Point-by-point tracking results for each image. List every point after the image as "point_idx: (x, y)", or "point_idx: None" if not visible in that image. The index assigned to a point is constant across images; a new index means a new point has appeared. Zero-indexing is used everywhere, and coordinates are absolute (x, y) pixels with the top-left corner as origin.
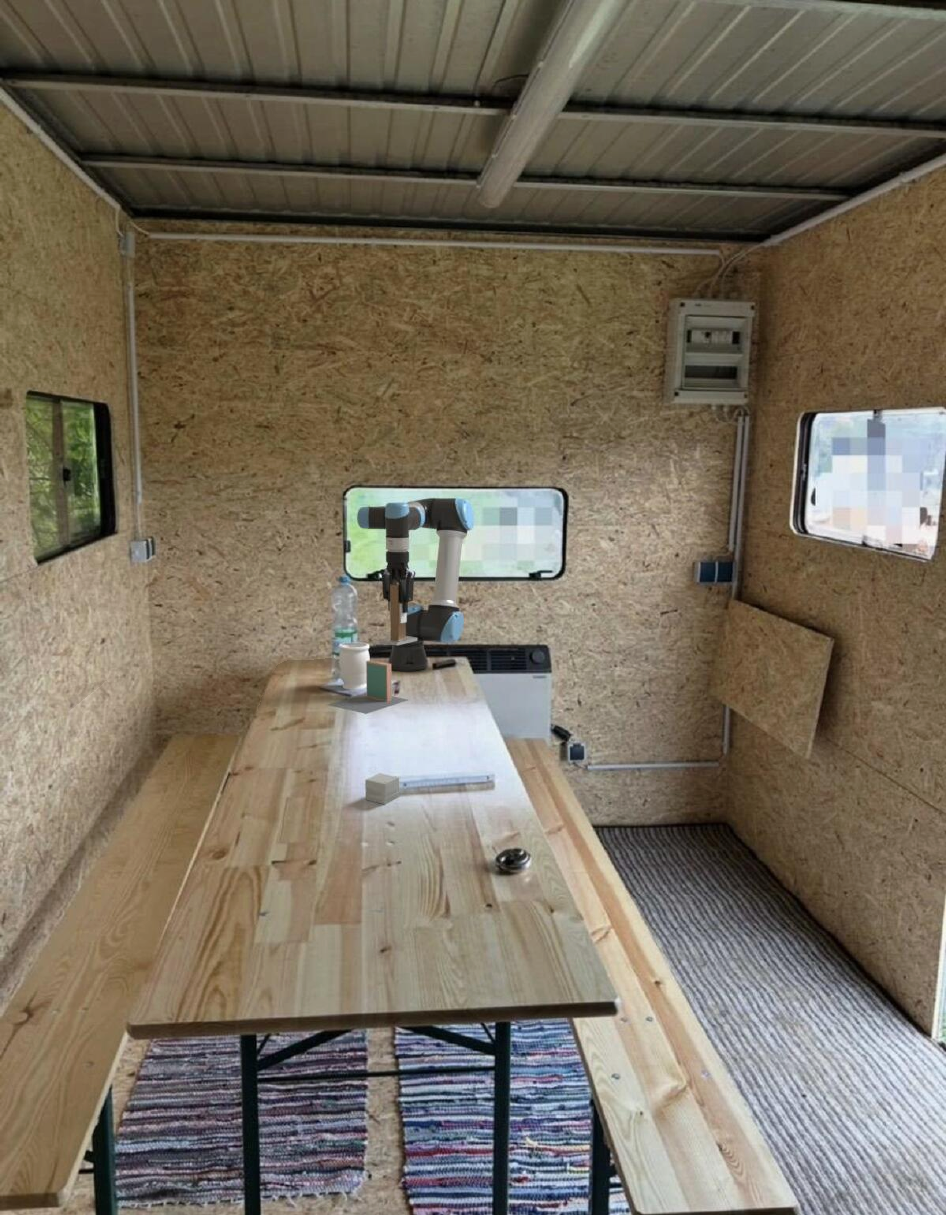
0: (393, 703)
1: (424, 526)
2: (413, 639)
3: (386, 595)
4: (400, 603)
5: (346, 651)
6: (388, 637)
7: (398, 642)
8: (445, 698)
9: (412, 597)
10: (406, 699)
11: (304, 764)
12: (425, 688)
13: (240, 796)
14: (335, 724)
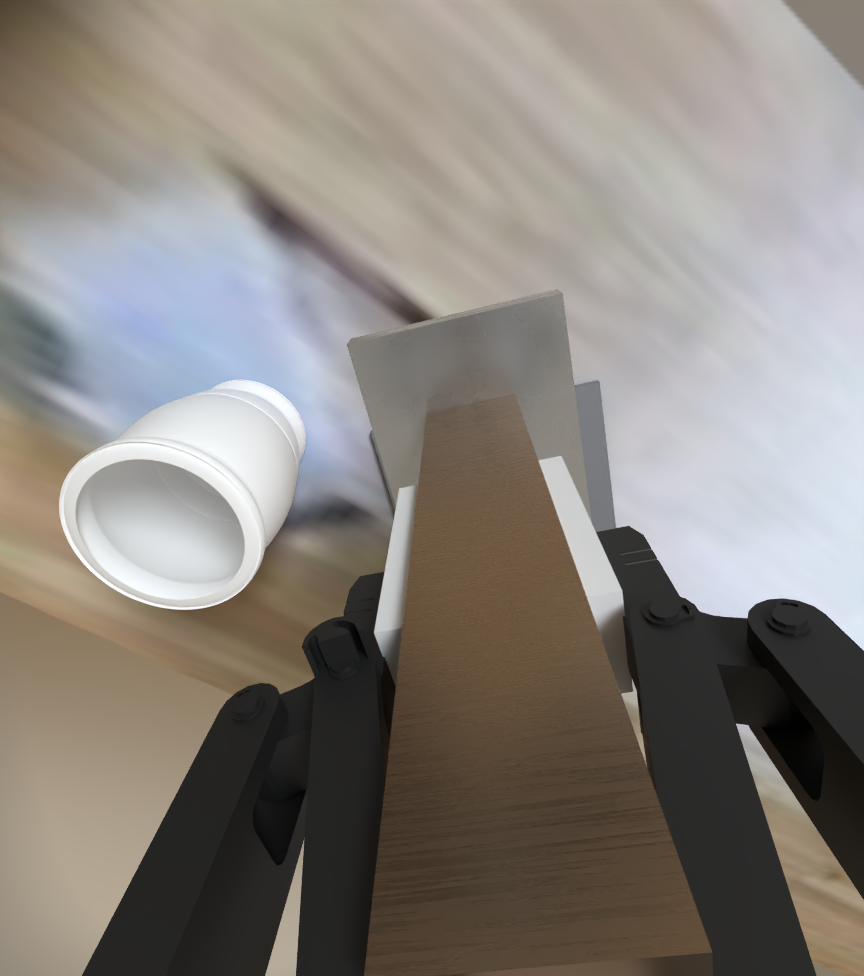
0: (594, 465)
1: None
2: (568, 346)
3: (303, 802)
4: (620, 691)
5: (220, 584)
6: (391, 475)
7: (590, 517)
8: (693, 203)
9: (855, 660)
10: (586, 388)
11: (811, 856)
12: (463, 152)
13: (837, 957)
14: (626, 700)
